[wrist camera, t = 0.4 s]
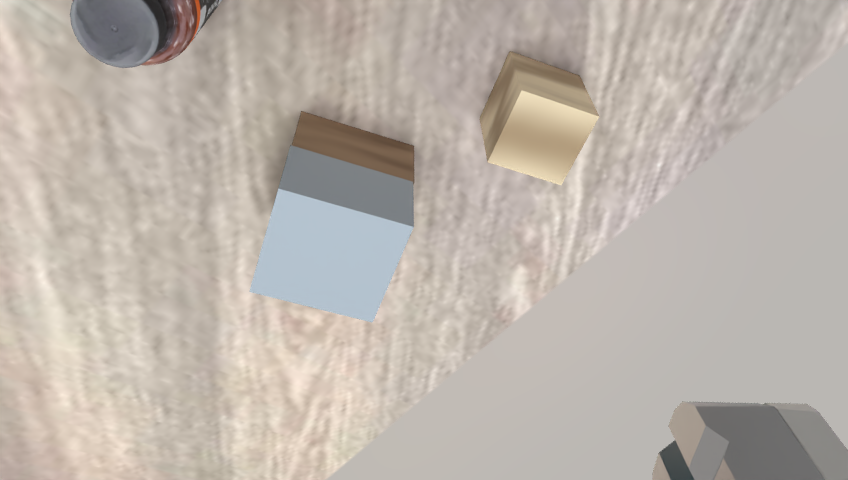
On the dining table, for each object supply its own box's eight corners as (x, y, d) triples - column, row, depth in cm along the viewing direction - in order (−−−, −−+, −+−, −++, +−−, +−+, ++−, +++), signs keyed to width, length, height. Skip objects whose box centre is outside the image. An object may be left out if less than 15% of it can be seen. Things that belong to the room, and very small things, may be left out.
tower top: (290, 144, 43) (278, 188, 39) (413, 181, 45) (413, 226, 41) (263, 243, 47) (249, 291, 43) (375, 273, 49) (372, 322, 45)
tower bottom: (301, 109, 47) (291, 146, 43) (413, 144, 49) (414, 182, 45) (275, 203, 51) (264, 244, 47) (379, 232, 53) (376, 274, 49)
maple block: (509, 50, 45) (521, 90, 40) (579, 75, 46) (599, 116, 41) (479, 117, 47) (487, 162, 43) (546, 139, 48) (561, 185, 44)
